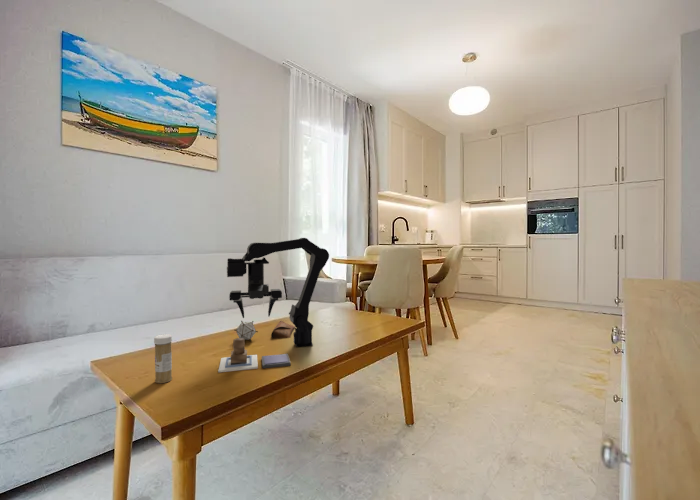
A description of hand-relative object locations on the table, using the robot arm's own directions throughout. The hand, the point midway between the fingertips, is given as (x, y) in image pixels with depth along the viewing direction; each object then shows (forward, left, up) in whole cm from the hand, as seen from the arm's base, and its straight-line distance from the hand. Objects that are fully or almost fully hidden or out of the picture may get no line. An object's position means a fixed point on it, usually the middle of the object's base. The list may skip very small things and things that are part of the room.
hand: (256, 317), depth 129 cm
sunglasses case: (-12, -22, -13) cm, 28 cm away
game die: (+4, -14, -13) cm, 19 cm away
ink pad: (-6, +15, -12) cm, 20 cm away
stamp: (+6, +13, -12) cm, 19 cm away
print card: (+6, +13, -12) cm, 19 cm away
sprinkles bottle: (+27, +21, -13) cm, 36 cm away
